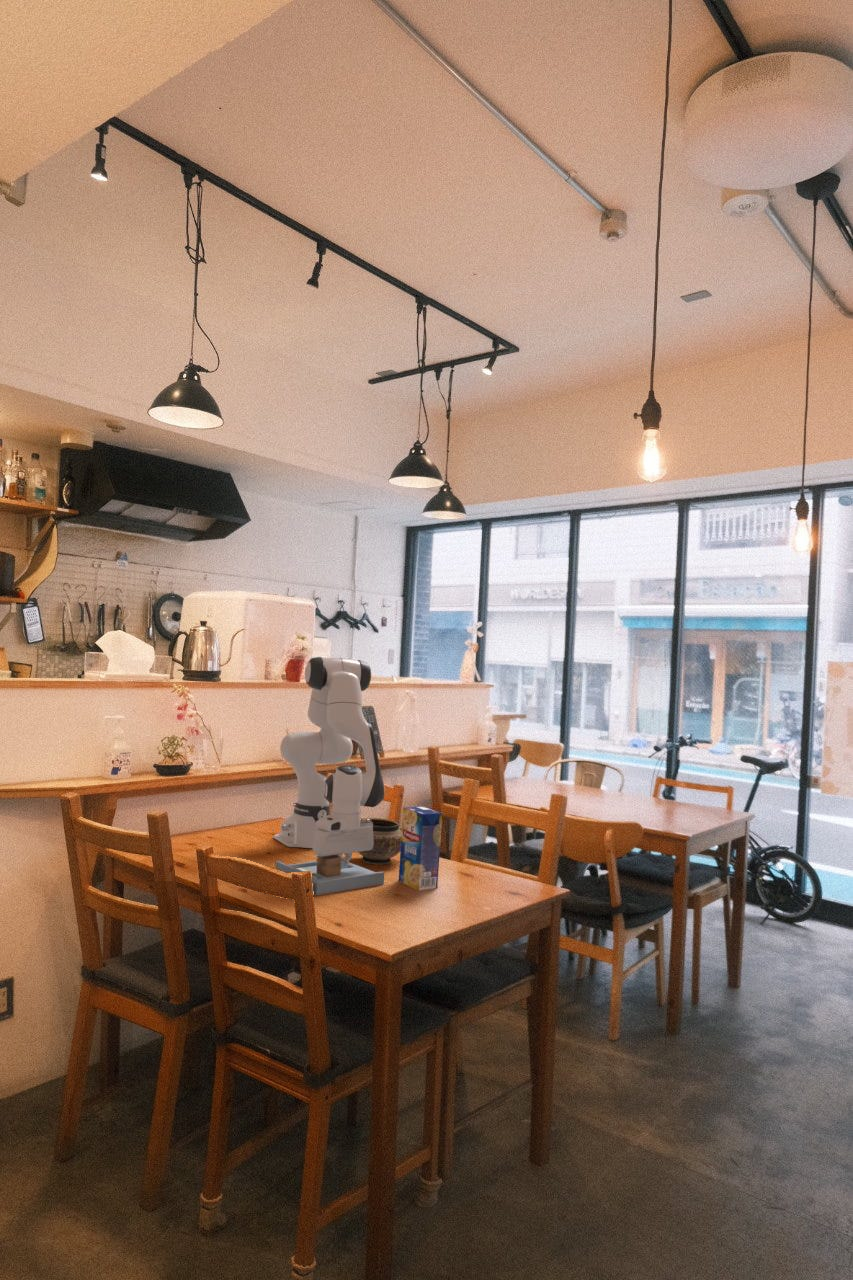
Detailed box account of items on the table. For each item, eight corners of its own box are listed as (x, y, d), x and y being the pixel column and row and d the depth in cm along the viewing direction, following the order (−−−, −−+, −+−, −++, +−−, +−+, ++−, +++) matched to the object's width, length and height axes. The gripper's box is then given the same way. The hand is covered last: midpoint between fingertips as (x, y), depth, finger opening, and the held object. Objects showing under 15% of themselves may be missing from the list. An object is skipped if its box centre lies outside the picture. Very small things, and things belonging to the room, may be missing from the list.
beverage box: (417, 878, 254) (422, 806, 254) (437, 888, 245) (442, 813, 245) (398, 880, 250) (403, 807, 250) (418, 890, 241) (423, 814, 241)
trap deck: (274, 878, 243) (275, 861, 243) (343, 868, 260) (344, 852, 260) (313, 895, 228) (314, 877, 229) (383, 884, 245) (384, 867, 245)
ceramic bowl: (357, 879, 259) (368, 835, 256) (327, 852, 272) (337, 810, 269) (417, 870, 275) (427, 828, 272) (385, 845, 288) (395, 805, 285)
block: (316, 873, 243) (317, 856, 243) (330, 870, 246) (331, 853, 246) (326, 877, 239) (327, 859, 239) (340, 874, 242) (341, 857, 242)
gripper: (366, 816, 255) (363, 861, 255) (311, 822, 242) (308, 869, 241) (379, 820, 251) (376, 866, 250) (323, 826, 237) (320, 874, 237)
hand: (342, 868), depth 246 cm, fingers closed
